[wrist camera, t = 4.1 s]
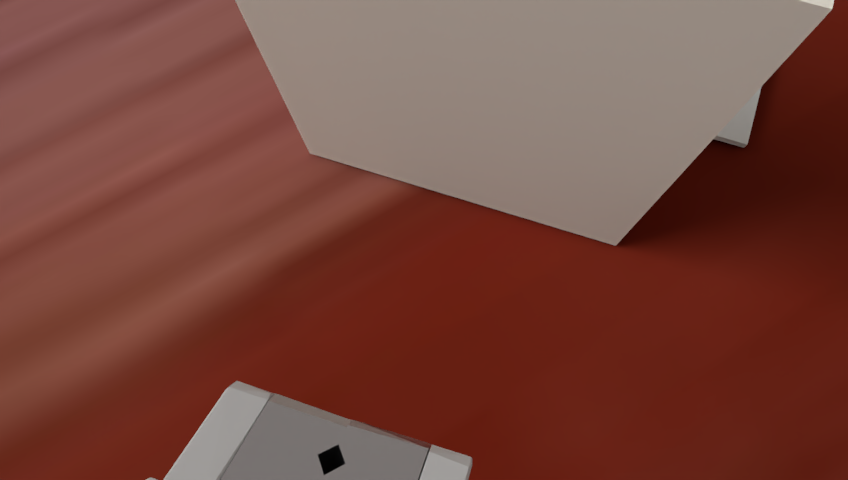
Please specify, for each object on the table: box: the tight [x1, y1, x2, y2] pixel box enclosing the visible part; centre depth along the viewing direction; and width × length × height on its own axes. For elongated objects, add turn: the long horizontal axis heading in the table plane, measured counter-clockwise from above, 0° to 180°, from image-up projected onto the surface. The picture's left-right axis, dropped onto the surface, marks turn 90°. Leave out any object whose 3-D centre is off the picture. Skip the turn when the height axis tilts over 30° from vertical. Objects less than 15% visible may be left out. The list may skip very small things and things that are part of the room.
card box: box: [235, 0, 834, 246], centre depth 18 cm, size 4×10×14 cm, turn 72°
